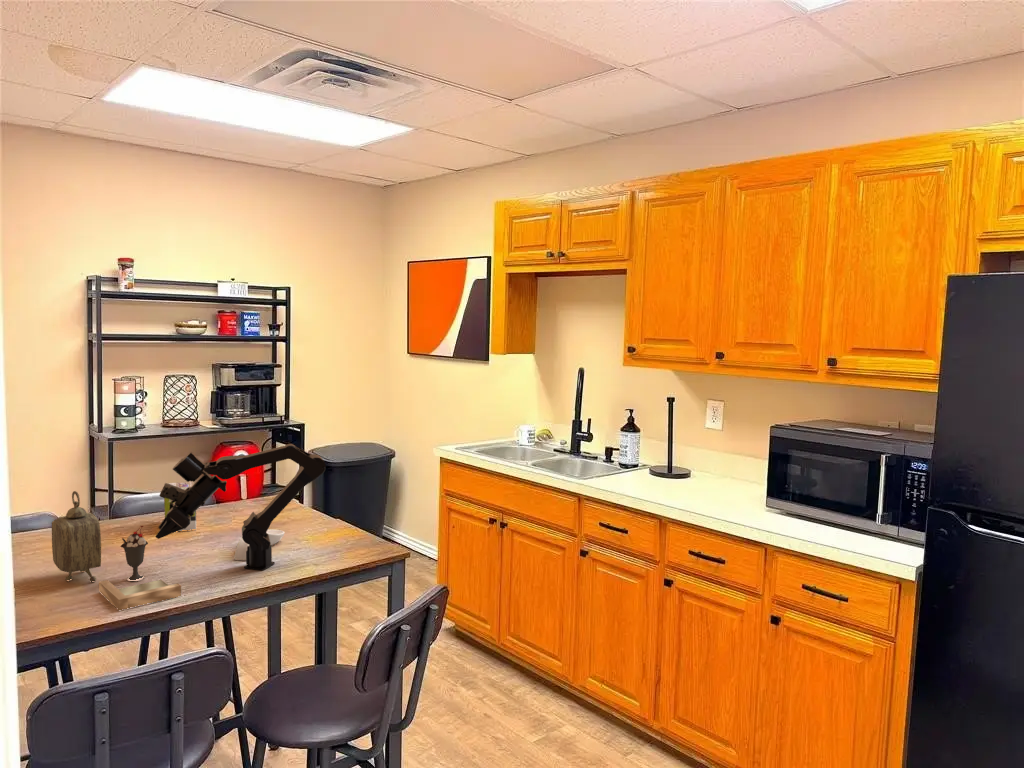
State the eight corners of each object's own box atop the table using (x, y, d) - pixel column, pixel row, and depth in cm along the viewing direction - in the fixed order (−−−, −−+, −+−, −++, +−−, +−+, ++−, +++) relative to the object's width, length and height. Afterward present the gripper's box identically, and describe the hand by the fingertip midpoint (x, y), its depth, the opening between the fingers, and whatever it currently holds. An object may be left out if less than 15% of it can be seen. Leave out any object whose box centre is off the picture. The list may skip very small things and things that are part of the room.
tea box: (165, 522, 261) (164, 482, 259) (195, 520, 265) (194, 480, 264) (164, 534, 247) (163, 491, 246) (196, 531, 251) (196, 489, 250)
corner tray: (158, 579, 204) (158, 569, 204) (181, 596, 192) (180, 585, 192) (99, 592, 193) (98, 581, 193) (119, 611, 181) (118, 599, 181)
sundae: (154, 576, 206) (153, 524, 205) (136, 584, 200) (134, 531, 199) (135, 573, 208) (133, 522, 207) (116, 581, 202) (115, 528, 200)
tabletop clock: (102, 582, 201) (99, 494, 198) (64, 590, 194) (61, 499, 192) (88, 569, 211) (85, 485, 209) (52, 576, 205) (49, 489, 203)
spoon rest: (255, 538, 245) (255, 517, 244) (289, 539, 244) (289, 518, 244) (223, 561, 221) (223, 538, 221) (261, 562, 221) (260, 539, 220)
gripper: (179, 467, 214) (139, 507, 211) (175, 480, 197) (131, 523, 194) (209, 492, 218) (169, 531, 215) (207, 507, 201) (164, 549, 198)
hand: (158, 533), depth 205 cm, fingers open, 9 cm apart
